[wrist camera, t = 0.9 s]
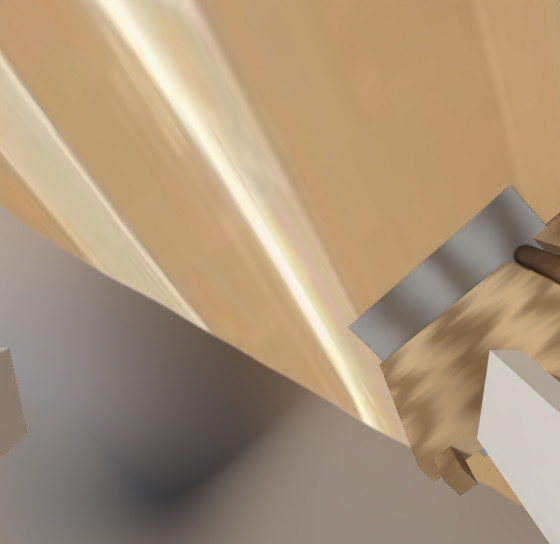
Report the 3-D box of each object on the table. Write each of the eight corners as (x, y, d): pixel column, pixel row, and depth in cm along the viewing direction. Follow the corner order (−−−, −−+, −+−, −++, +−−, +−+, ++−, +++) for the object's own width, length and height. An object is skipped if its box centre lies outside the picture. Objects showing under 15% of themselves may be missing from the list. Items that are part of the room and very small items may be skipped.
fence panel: (507, 260, 36) (659, 333, 21) (517, 271, 36) (675, 352, 21) (379, 364, 40) (428, 491, 24) (390, 374, 40) (444, 506, 25)
